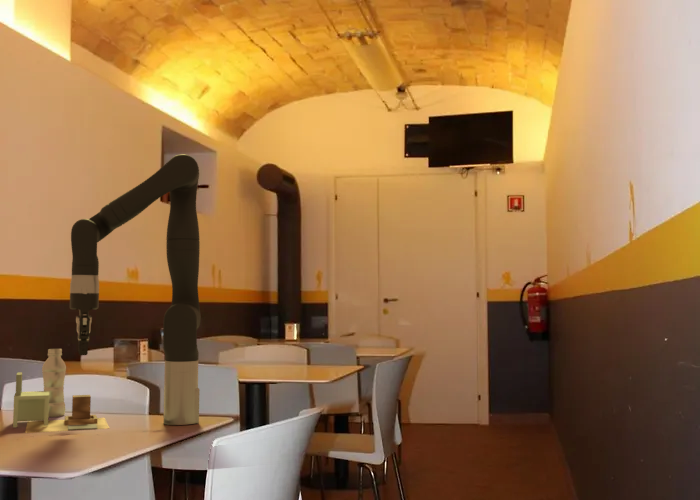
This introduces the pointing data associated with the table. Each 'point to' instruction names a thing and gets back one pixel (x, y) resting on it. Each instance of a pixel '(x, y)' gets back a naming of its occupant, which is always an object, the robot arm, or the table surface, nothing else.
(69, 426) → the puzzle board
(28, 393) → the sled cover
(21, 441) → the table surface
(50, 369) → the plastic bottle
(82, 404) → the walnut block
